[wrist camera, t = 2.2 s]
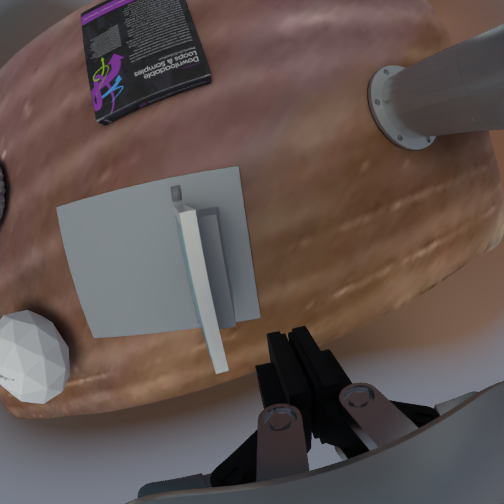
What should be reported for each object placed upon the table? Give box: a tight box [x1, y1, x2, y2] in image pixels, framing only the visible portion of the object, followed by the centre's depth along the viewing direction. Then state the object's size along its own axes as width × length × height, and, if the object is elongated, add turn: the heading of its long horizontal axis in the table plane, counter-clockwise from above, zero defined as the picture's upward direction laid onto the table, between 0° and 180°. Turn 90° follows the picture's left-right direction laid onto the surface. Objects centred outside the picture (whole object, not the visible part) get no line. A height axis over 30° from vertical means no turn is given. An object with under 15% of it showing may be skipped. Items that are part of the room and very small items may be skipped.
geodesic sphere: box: [0, 310, 70, 404], centre depth 25 cm, size 14×14×14 cm
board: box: [56, 166, 260, 338], centre depth 27 cm, size 23×18×9 cm
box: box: [81, 0, 212, 125], centre depth 23 cm, size 14×4×20 cm
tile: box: [173, 204, 229, 374], centre depth 24 cm, size 13×12×1 cm
